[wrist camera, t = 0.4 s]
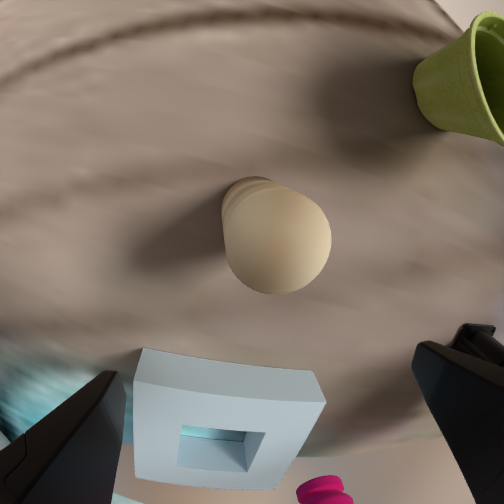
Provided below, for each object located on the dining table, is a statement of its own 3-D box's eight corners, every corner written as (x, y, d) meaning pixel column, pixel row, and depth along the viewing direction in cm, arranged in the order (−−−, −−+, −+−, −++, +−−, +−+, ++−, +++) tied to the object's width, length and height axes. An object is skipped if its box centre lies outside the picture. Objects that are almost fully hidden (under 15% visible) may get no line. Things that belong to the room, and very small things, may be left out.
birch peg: (295, 185, 20) (343, 205, 12) (278, 248, 21) (313, 301, 14) (229, 169, 19) (239, 178, 12) (214, 235, 20) (215, 284, 13)
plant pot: (374, 101, 19) (455, 83, 11) (414, 19, 17) (483, -14, 8) (455, 172, 21) (535, 188, 13) (485, 90, 19) (557, 86, 11)
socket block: (312, 370, 25) (326, 402, 21) (268, 461, 29) (274, 489, 25) (143, 347, 22) (133, 380, 19) (140, 448, 26) (135, 477, 22)
